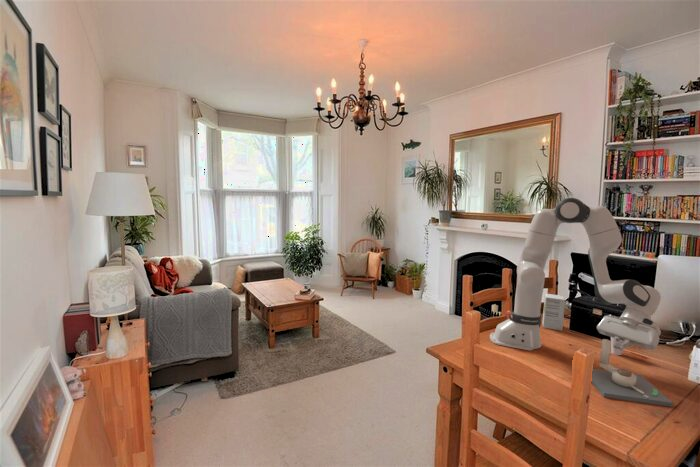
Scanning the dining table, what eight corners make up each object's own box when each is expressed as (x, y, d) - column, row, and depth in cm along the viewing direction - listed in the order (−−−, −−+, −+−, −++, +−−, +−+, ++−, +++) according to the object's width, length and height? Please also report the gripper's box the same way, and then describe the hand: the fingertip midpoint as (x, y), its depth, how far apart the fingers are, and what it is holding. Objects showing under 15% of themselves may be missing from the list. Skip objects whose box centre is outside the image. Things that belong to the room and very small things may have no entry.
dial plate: (603, 397, 124) (604, 392, 124) (581, 370, 143) (582, 366, 143) (672, 407, 119) (673, 401, 119) (640, 378, 138) (640, 373, 138)
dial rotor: (652, 394, 123) (656, 360, 122) (634, 394, 123) (638, 360, 122) (608, 368, 142) (612, 339, 140) (592, 369, 141) (595, 339, 140)
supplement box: (542, 322, 201) (544, 293, 199) (561, 325, 197) (563, 295, 195) (542, 327, 192) (545, 297, 190) (562, 331, 188) (565, 299, 187)
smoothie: (628, 357, 157) (631, 326, 156) (612, 355, 159) (615, 325, 157) (620, 351, 164) (623, 321, 162) (605, 350, 165) (608, 320, 164)
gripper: (603, 309, 154) (587, 334, 151) (661, 324, 136) (644, 353, 132) (608, 318, 156) (593, 343, 153) (666, 334, 138) (650, 363, 135)
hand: (617, 348), depth 142 cm, fingers closed
